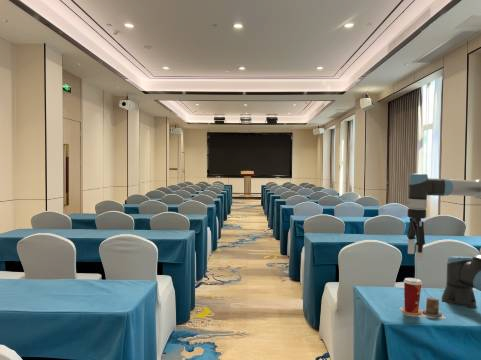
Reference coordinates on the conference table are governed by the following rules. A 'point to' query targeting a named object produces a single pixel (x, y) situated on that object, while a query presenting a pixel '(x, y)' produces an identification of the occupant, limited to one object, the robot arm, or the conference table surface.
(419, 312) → the terracotta pad
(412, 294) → the paper cup
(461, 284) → the robot arm
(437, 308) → the brown short cylinder
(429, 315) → the grey pad
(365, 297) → the conference table surface
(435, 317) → the board
